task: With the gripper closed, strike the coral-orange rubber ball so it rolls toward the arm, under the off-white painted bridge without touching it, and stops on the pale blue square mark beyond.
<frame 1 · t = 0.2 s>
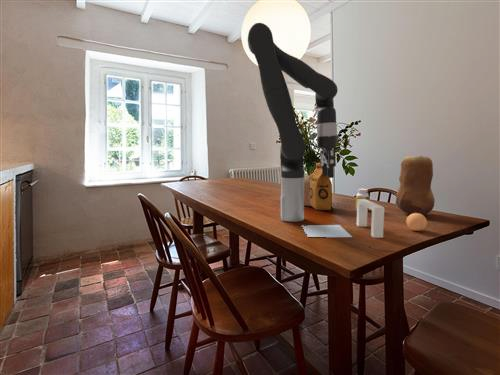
hand: (327, 176, 109), 17 cm above the table, tool pointing down, fingers open, 8 cm apart
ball: (416, 221, 94), on the table
supplement bottle: (361, 210, 127), on the table
bridge: (368, 230, 95), on the table
butternut squash: (413, 215, 117), on the table
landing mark: (324, 231, 95), on the table
coffee package: (319, 208, 133), on the table
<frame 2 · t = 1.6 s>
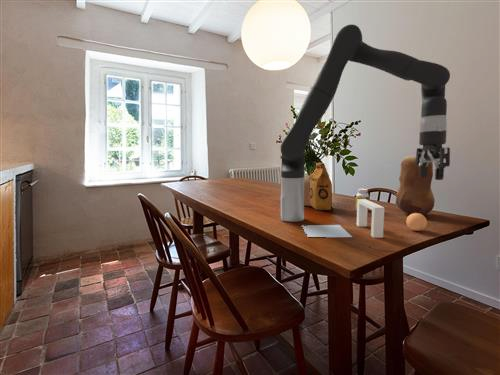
hand: (430, 178, 94), 18 cm above the table, tool pointing down, fingers open, 8 cm apart
nothing on the table moved.
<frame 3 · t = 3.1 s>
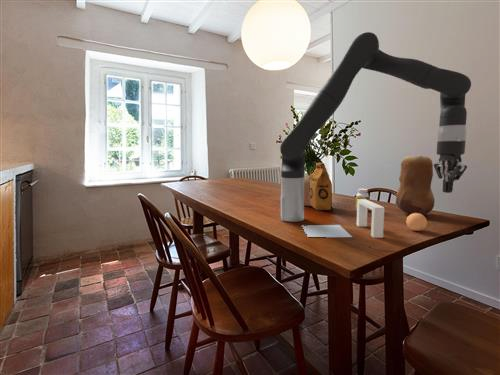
hand: (447, 192, 92), 13 cm above the table, tool pointing down, fingers closed
nothing on the table moved.
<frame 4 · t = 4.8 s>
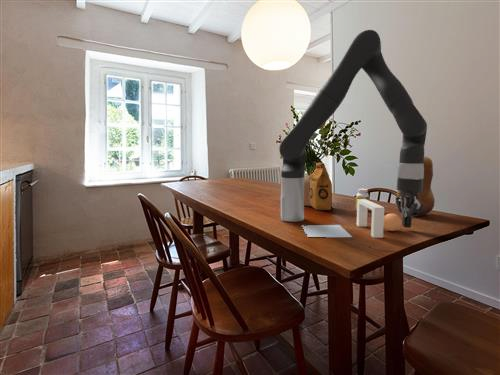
hand: (406, 226, 94), 1 cm above the table, tool pointing down, fingers closed
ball: (391, 222, 94), on the table
everything else where it was.
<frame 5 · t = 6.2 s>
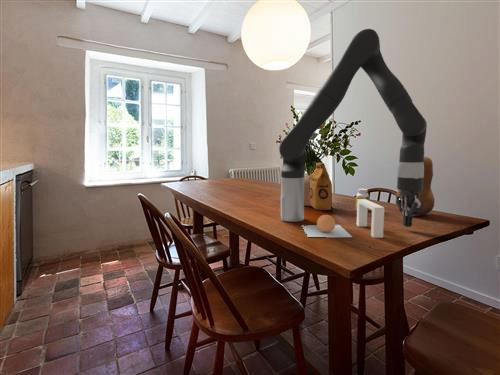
hand: (407, 226, 94), 2 cm above the table, tool pointing down, fingers closed
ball: (326, 223, 93), on the table
everything else where it was.
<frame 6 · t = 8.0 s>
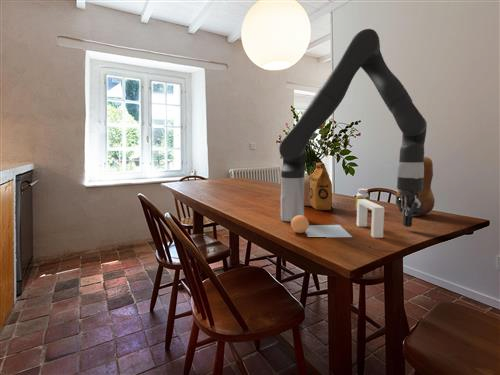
hand: (407, 226, 94), 2 cm above the table, tool pointing down, fingers closed
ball: (299, 224, 93), on the table
everything else where it was.
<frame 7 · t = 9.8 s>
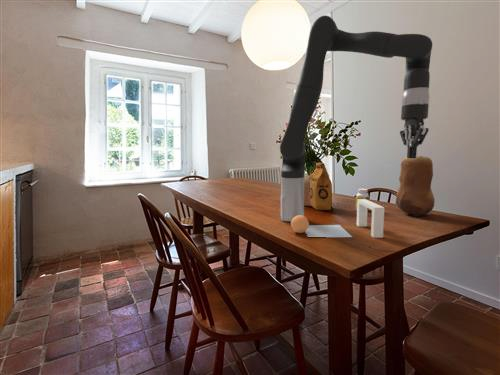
hand: (411, 158, 91), 25 cm above the table, tool pointing down, fingers closed
nothing on the table moved.
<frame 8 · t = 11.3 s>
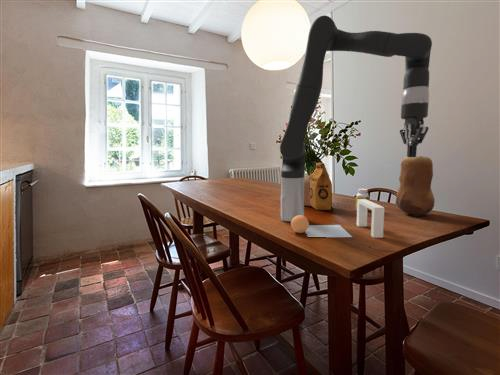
hand: (411, 157, 91), 25 cm above the table, tool pointing down, fingers closed
nothing on the table moved.
at the end: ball 8.9 cm from the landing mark (horizontally); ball never touched bridge; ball at rest at the end (0.0 cm/s) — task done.
